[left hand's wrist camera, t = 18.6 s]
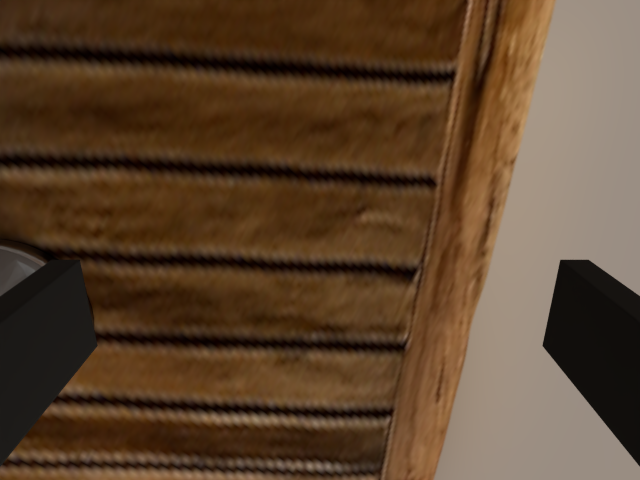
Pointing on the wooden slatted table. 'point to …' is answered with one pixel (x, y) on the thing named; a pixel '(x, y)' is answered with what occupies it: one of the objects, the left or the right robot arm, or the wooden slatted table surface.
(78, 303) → the left robot arm
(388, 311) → the wooden slatted table surface
